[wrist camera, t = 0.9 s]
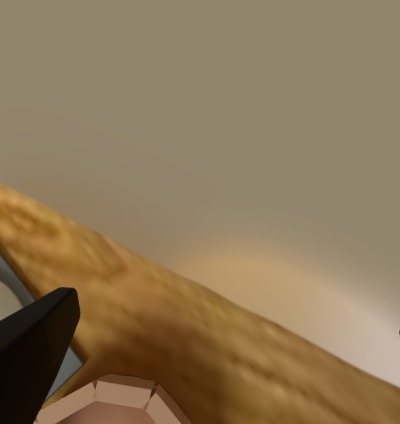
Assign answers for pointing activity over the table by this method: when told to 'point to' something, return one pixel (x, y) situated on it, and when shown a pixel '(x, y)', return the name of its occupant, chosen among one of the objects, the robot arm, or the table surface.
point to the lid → (8, 301)
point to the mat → (10, 278)
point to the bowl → (115, 404)
